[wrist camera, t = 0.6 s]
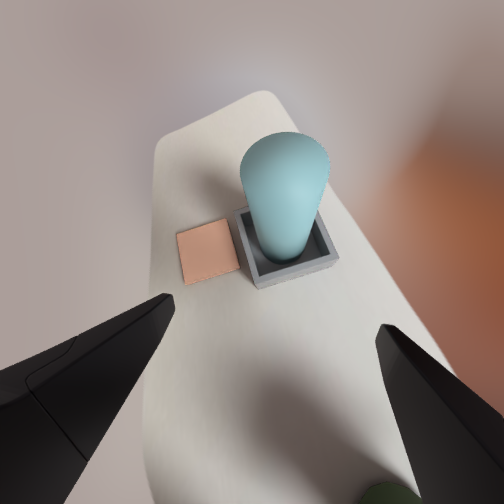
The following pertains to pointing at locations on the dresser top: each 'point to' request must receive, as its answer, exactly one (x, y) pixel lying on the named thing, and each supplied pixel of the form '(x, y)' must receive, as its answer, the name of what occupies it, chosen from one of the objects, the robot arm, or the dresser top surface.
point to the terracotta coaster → (207, 251)
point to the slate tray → (267, 273)
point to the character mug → (390, 495)
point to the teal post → (284, 191)
